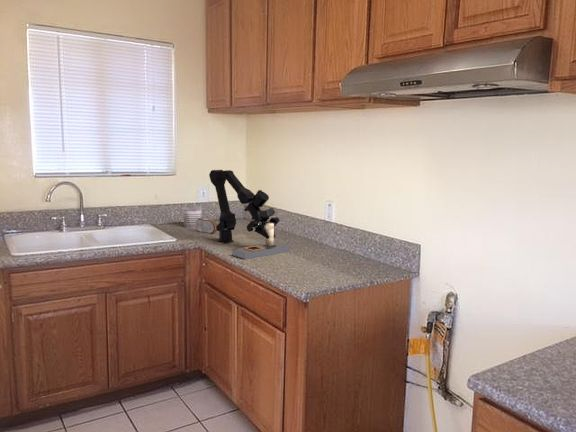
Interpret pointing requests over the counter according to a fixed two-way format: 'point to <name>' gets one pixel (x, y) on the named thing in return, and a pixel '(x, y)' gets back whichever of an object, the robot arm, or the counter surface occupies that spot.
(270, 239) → the peg
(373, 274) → the counter surface
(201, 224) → the tin
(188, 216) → the can
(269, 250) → the silver slotted plate
